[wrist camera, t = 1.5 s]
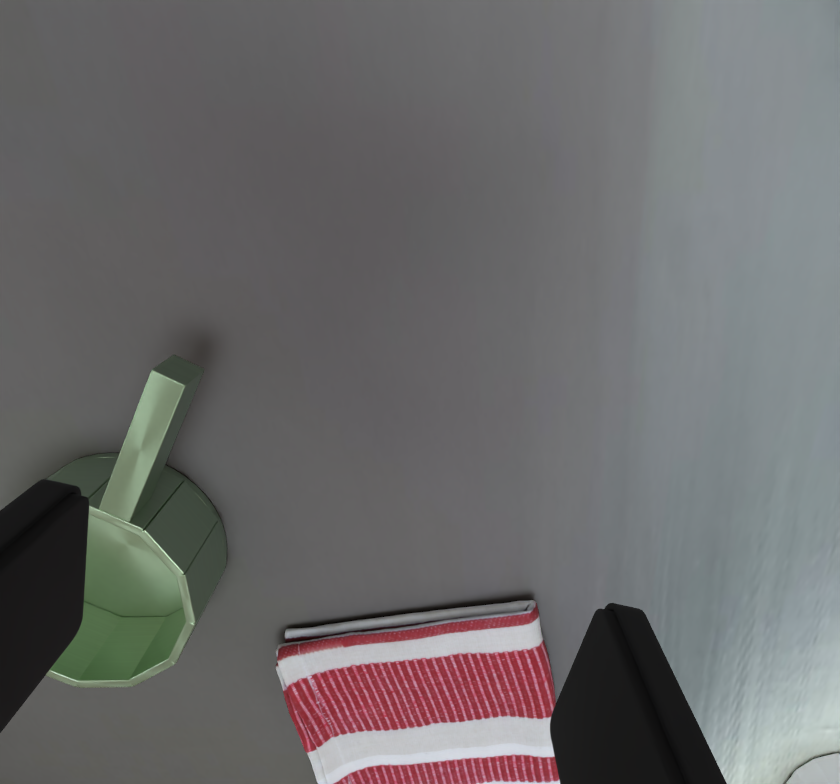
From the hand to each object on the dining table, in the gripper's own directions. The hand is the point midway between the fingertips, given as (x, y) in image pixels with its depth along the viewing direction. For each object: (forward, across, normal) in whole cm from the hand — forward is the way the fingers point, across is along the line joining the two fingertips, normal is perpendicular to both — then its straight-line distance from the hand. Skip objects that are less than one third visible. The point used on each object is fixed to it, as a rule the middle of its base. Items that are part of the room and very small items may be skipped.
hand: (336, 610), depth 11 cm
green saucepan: (+21, +12, +13) cm, 28 cm away
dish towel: (+22, -9, +28) cm, 37 cm away
